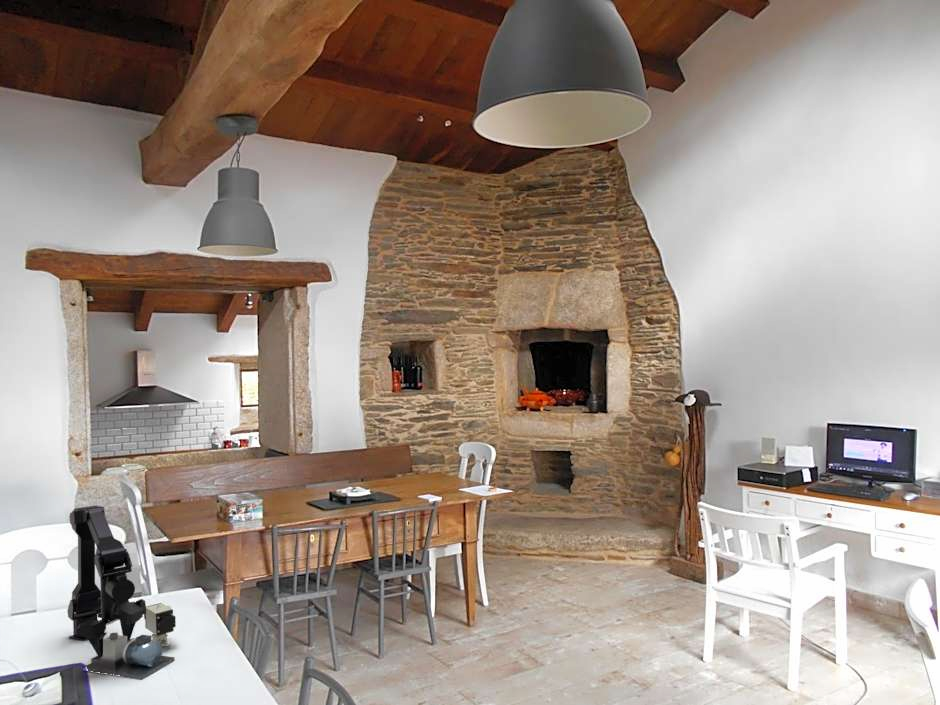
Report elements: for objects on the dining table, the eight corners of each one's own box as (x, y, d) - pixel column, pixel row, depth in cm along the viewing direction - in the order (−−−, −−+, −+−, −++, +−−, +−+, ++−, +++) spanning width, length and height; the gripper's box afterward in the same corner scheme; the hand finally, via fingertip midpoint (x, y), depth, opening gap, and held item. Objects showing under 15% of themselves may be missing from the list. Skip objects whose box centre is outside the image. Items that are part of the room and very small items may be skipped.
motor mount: (82, 671, 197) (81, 639, 197) (117, 653, 208) (116, 623, 208) (141, 679, 190) (140, 647, 190) (174, 660, 201) (173, 630, 201)
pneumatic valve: (159, 653, 207) (158, 611, 207) (144, 642, 215) (142, 602, 215) (179, 648, 211) (177, 606, 211) (163, 637, 219) (162, 597, 219)
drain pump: (100, 662, 199) (99, 636, 199) (113, 655, 204) (112, 630, 204) (115, 664, 198) (114, 637, 198) (127, 657, 202) (127, 631, 202)
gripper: (108, 607, 189) (110, 667, 189) (160, 584, 207) (162, 640, 207) (75, 603, 193) (76, 662, 193) (129, 581, 211) (131, 636, 211)
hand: (114, 650), depth 201 cm, fingers open, 9 cm apart
